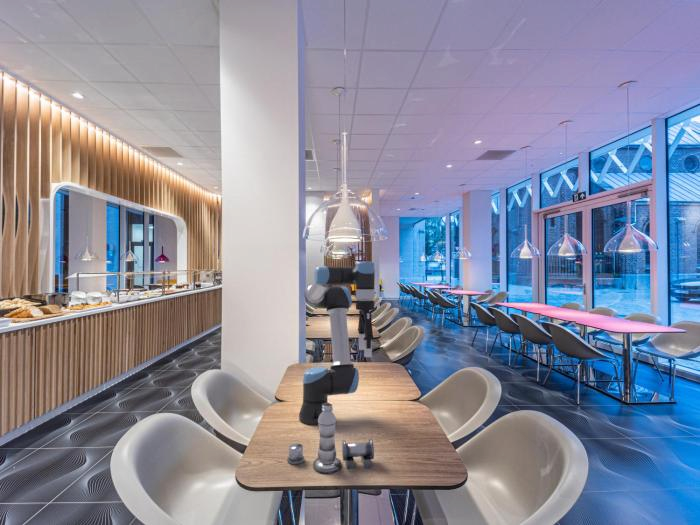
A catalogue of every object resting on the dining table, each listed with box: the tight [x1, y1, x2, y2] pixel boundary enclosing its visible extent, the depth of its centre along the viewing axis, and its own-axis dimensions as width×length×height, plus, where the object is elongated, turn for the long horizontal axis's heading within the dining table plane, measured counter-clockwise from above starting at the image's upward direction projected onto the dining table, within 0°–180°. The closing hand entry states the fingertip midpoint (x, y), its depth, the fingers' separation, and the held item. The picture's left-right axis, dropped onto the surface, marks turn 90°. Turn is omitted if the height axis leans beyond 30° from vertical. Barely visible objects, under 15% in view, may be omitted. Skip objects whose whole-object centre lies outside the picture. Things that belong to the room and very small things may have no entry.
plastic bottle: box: [317, 402, 337, 464], centre depth 129 cm, size 6×7×20 cm
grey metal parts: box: [312, 438, 375, 475], centre depth 129 cm, size 21×10×8 cm, turn 98°
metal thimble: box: [286, 443, 305, 466], centre depth 132 cm, size 6×6×5 cm
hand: (364, 353), depth 144 cm, fingers open, 13 cm apart
